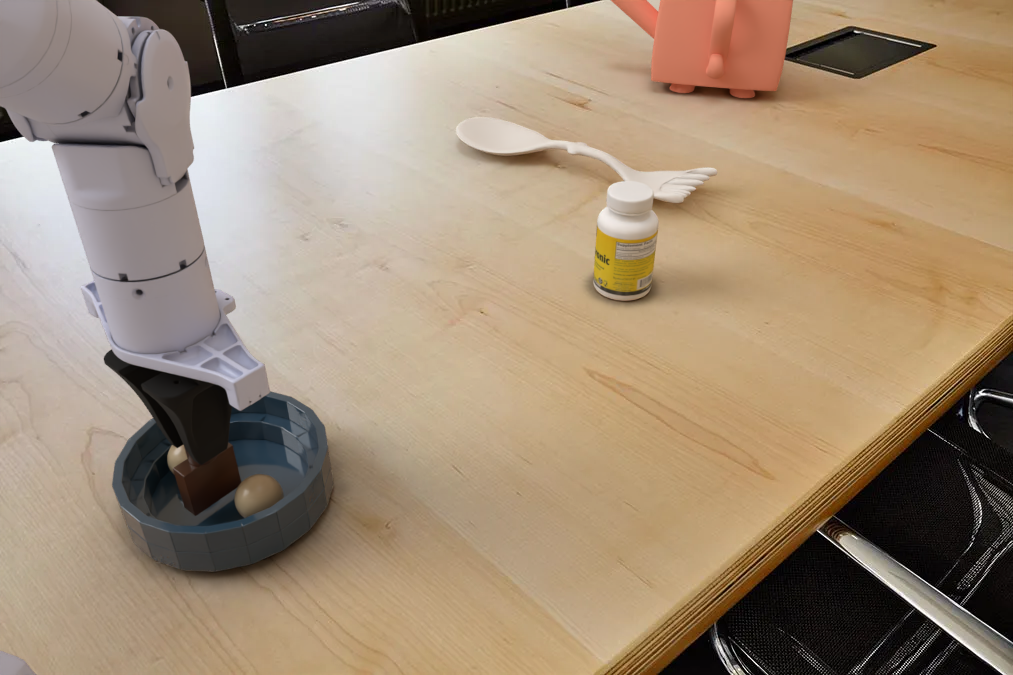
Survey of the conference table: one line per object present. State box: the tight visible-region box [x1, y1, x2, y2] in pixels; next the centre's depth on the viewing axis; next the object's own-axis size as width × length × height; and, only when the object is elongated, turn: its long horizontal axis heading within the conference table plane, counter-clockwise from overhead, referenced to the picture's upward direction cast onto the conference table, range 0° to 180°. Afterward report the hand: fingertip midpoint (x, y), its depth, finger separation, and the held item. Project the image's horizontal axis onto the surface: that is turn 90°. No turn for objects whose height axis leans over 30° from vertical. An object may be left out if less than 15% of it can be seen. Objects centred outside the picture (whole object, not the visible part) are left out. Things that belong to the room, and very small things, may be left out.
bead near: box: [235, 474, 284, 518], centre depth 54 cm, size 3×3×3 cm
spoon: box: [455, 116, 718, 204], centre depth 99 cm, size 9×32×4 cm, turn 54°
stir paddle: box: [173, 442, 241, 516], centre depth 53 cm, size 4×2×9 cm, turn 142°
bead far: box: [167, 445, 187, 475], centre depth 57 cm, size 3×3×3 cm
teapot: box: [610, 0, 794, 99], centre depth 121 cm, size 25×23×18 cm
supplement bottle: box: [592, 180, 659, 302], centre depth 76 cm, size 5×5×10 cm
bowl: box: [111, 390, 334, 572], centre depth 56 cm, size 13×13×4 cm
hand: (199, 446), depth 53 cm, fingers closed on stir paddle, 2 cm apart
